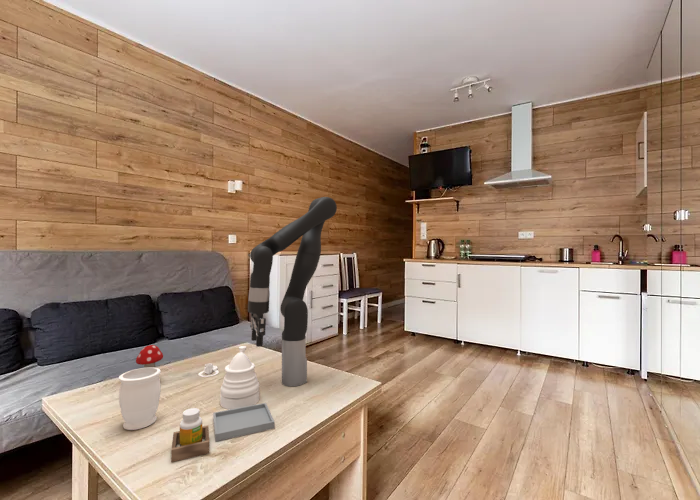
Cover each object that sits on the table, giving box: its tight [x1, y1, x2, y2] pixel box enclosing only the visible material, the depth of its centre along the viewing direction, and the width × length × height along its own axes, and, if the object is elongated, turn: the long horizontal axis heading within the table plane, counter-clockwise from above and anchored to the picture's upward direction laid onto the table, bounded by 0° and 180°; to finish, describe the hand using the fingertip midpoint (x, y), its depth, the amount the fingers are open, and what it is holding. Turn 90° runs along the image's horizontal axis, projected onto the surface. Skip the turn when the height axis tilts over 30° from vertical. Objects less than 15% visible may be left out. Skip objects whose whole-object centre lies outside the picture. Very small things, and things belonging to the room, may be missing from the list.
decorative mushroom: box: [135, 344, 164, 368], centre depth 127 cm, size 10×9×15 cm
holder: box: [170, 424, 210, 463], centre depth 87 cm, size 9×9×3 cm
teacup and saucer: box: [197, 362, 220, 378], centre depth 139 cm, size 9×8×4 cm
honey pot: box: [219, 345, 261, 410], centre depth 114 cm, size 13×13×18 cm
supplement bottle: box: [179, 407, 203, 447], centre depth 87 cm, size 5×5×10 cm
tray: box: [212, 402, 275, 443], centre depth 99 cm, size 16×13×2 cm
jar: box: [118, 367, 162, 431], centre depth 99 cm, size 11×10×15 cm
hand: (256, 343), depth 122 cm, fingers open, 8 cm apart
